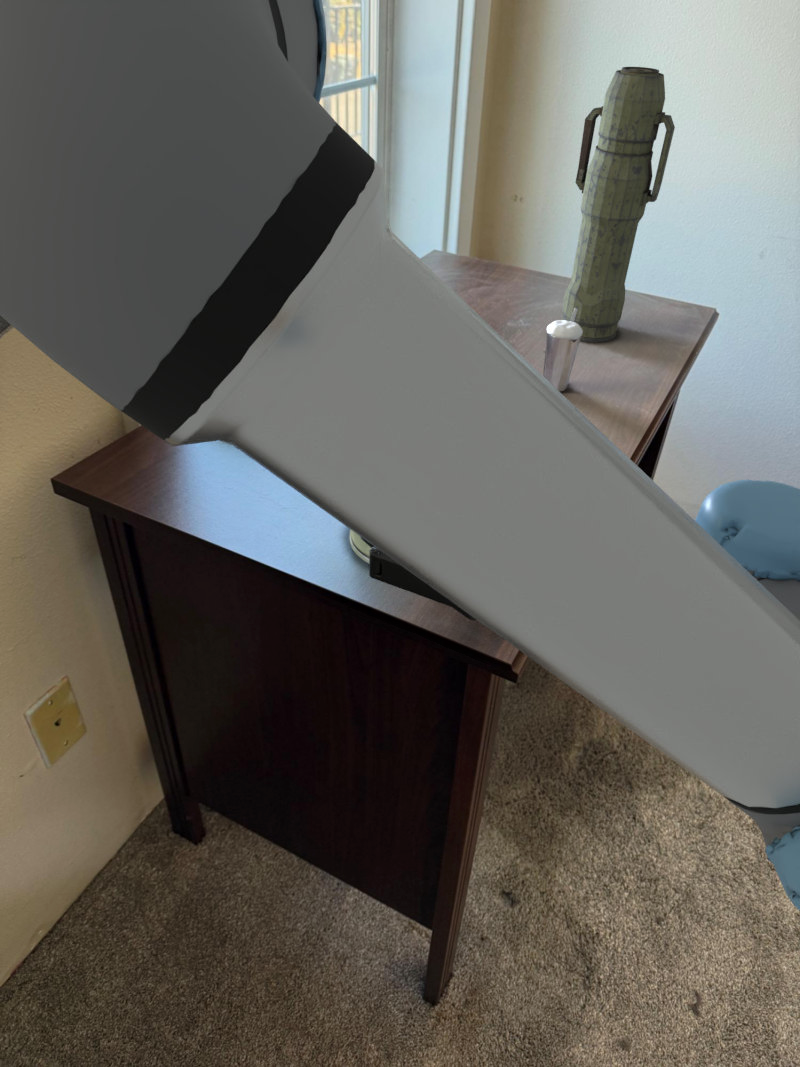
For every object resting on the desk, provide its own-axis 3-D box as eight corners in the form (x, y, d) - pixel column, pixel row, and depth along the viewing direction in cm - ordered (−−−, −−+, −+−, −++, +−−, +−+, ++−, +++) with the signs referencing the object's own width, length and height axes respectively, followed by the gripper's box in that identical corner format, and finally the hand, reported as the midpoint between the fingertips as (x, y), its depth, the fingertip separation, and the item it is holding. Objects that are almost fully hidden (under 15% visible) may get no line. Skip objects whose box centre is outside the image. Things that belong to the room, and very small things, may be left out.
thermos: (558, 313, 122) (602, 61, 100) (631, 328, 118) (692, 70, 96) (542, 332, 115) (585, 68, 94) (618, 349, 112) (681, 77, 90)
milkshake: (578, 382, 102) (592, 312, 96) (563, 397, 99) (577, 325, 93) (548, 373, 104) (560, 304, 98) (532, 388, 101) (543, 316, 94)
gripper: (453, 722, 52) (296, 559, 65) (675, 584, 64) (505, 470, 77) (463, 648, 47) (291, 488, 60) (700, 514, 59) (515, 406, 72)
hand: (411, 478), depth 68 cm, fingers open, 13 cm apart
